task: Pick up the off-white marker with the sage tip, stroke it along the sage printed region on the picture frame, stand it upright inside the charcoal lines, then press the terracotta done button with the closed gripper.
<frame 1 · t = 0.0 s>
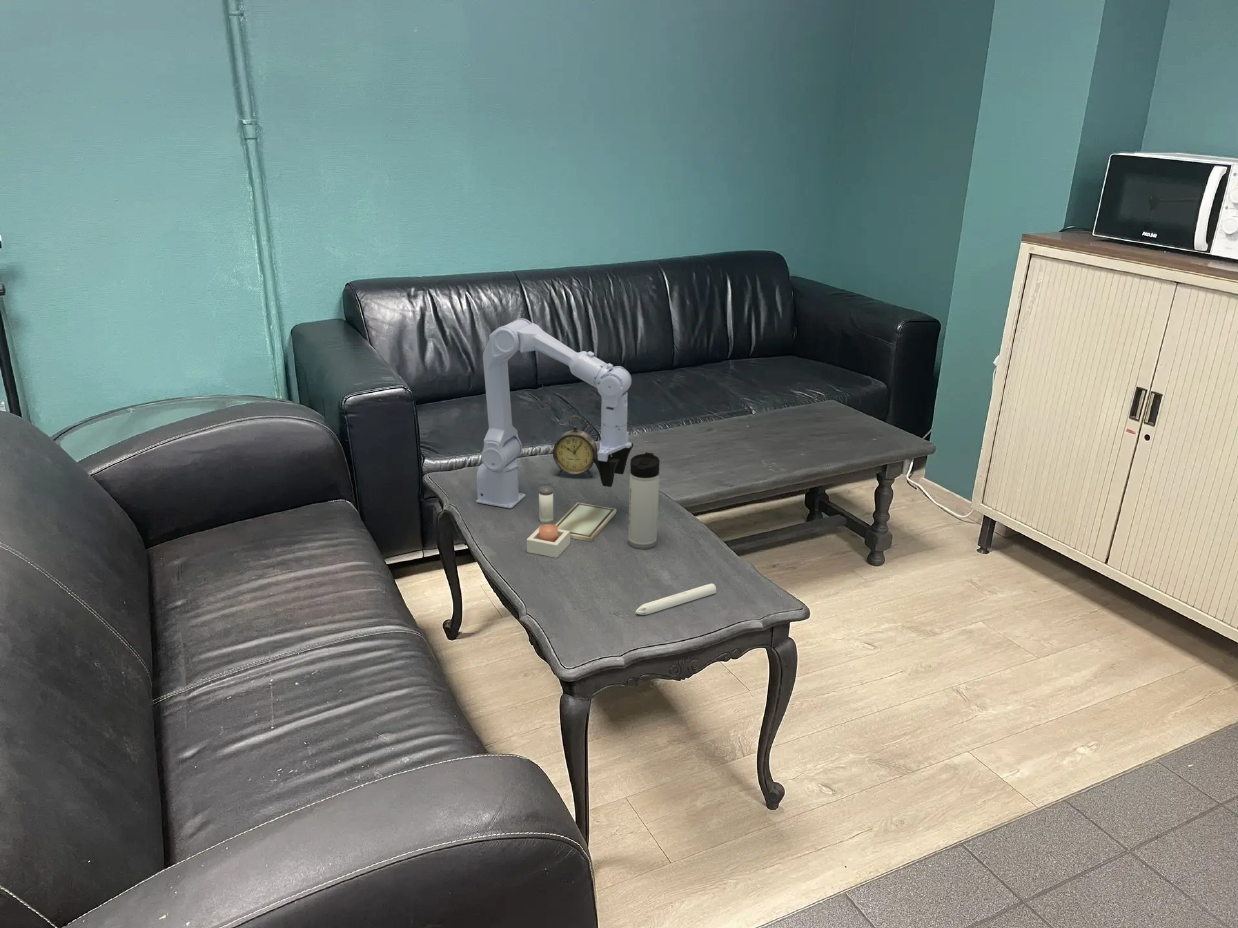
hand: (613, 479, 194), 10 cm above the table, tool pointing down, fingers open, 7 cm apart
done button: (548, 534, 183), point 3 cm above the table, slide at 0.0 cm
button housing: (548, 547, 184), on the table
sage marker: (546, 520, 197), on the table
picture frame: (584, 522, 196), on the table
travel mug: (642, 543, 187), on the table
alarm clock: (575, 475, 221), on the table
marker: (675, 605, 165), on the table
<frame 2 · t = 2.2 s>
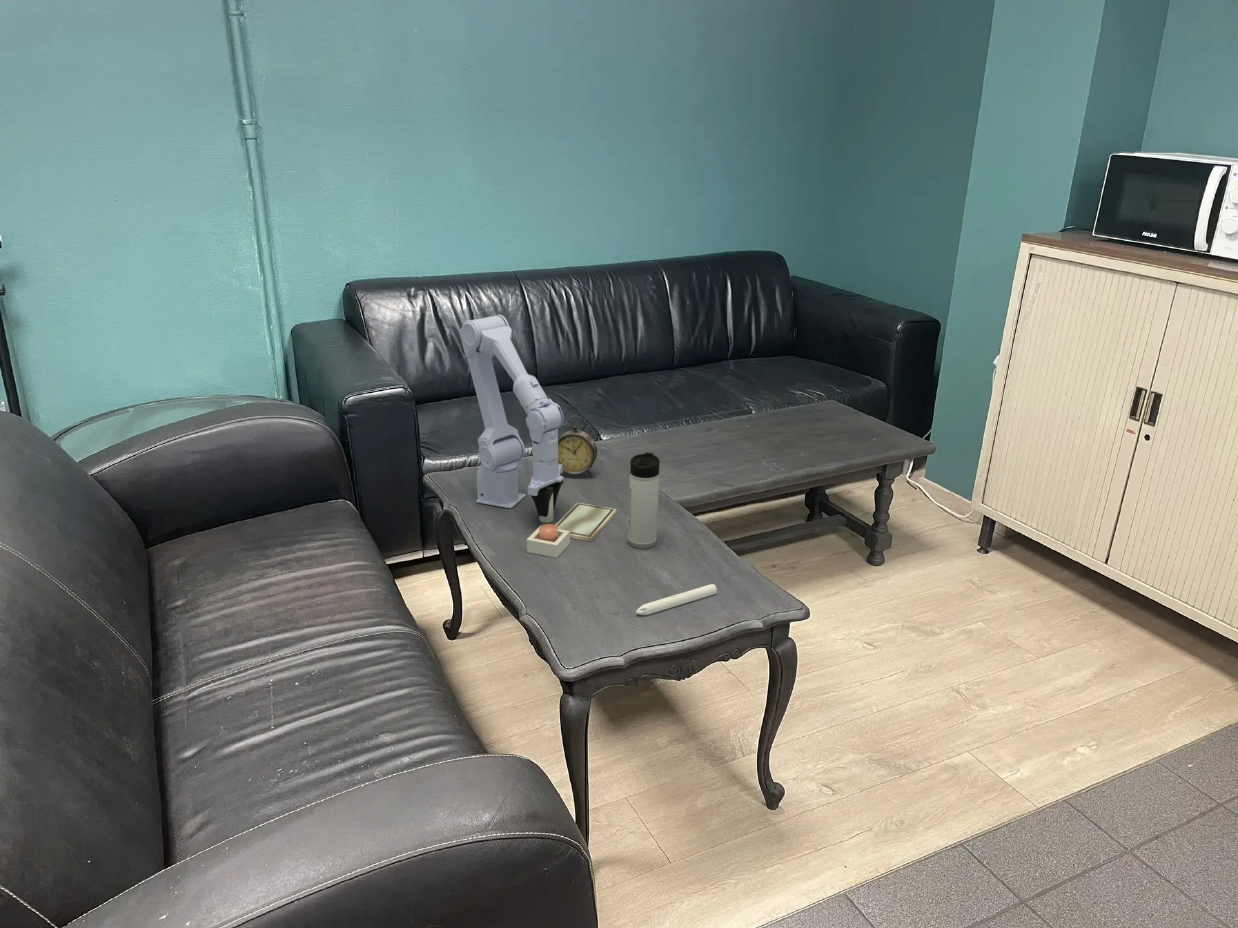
hand: (546, 512, 196), 2 cm above the table, tool pointing down, fingers closed on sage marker, 3 cm apart
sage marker: (546, 520, 197), on the table, touching gripper
everything else where it was.
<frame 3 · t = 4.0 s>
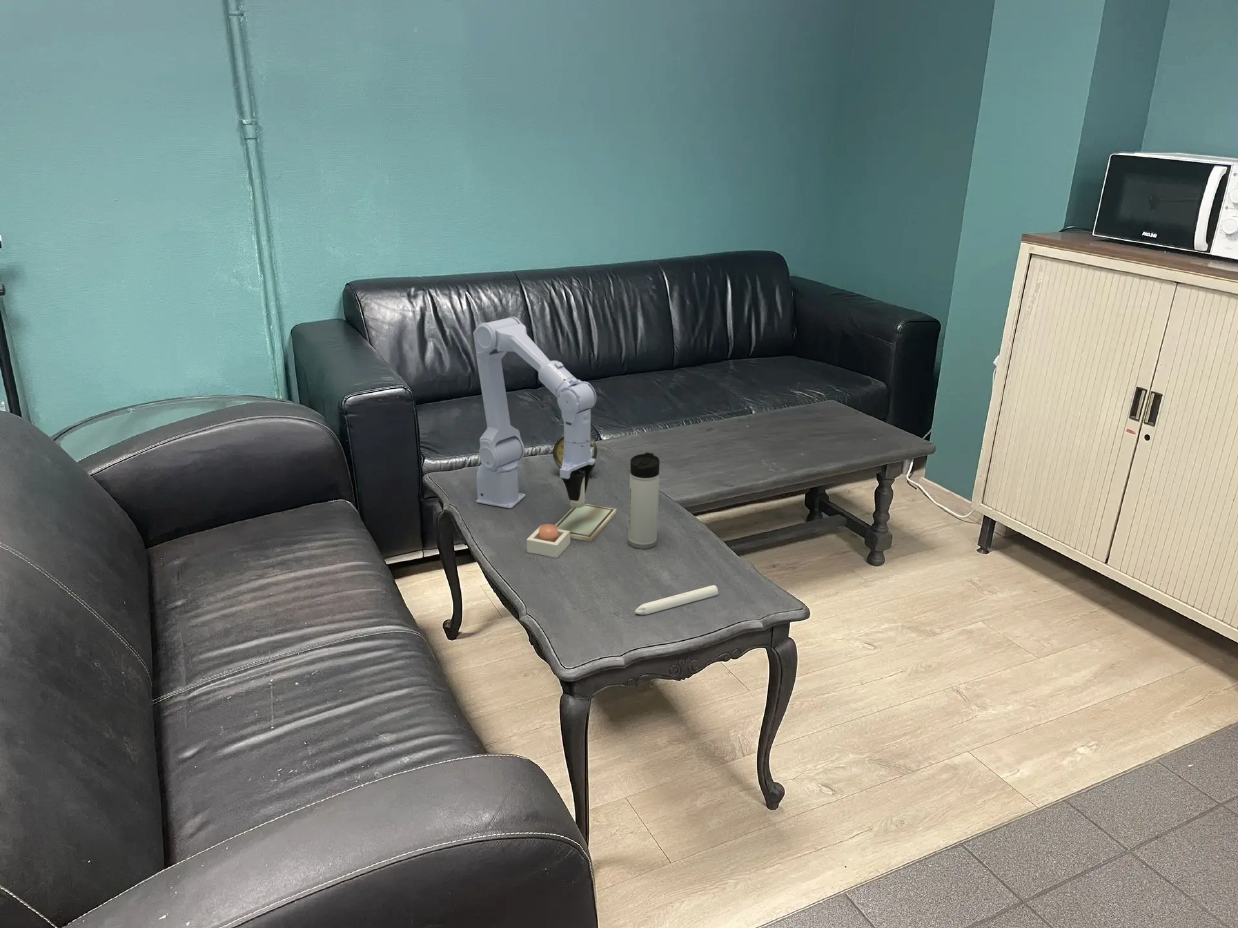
hand: (577, 496, 189), 8 cm above the table, tool pointing down, fingers closed on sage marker, 3 cm apart
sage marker: (577, 504, 190), point 6 cm above the table, touching gripper
everything else where it was.
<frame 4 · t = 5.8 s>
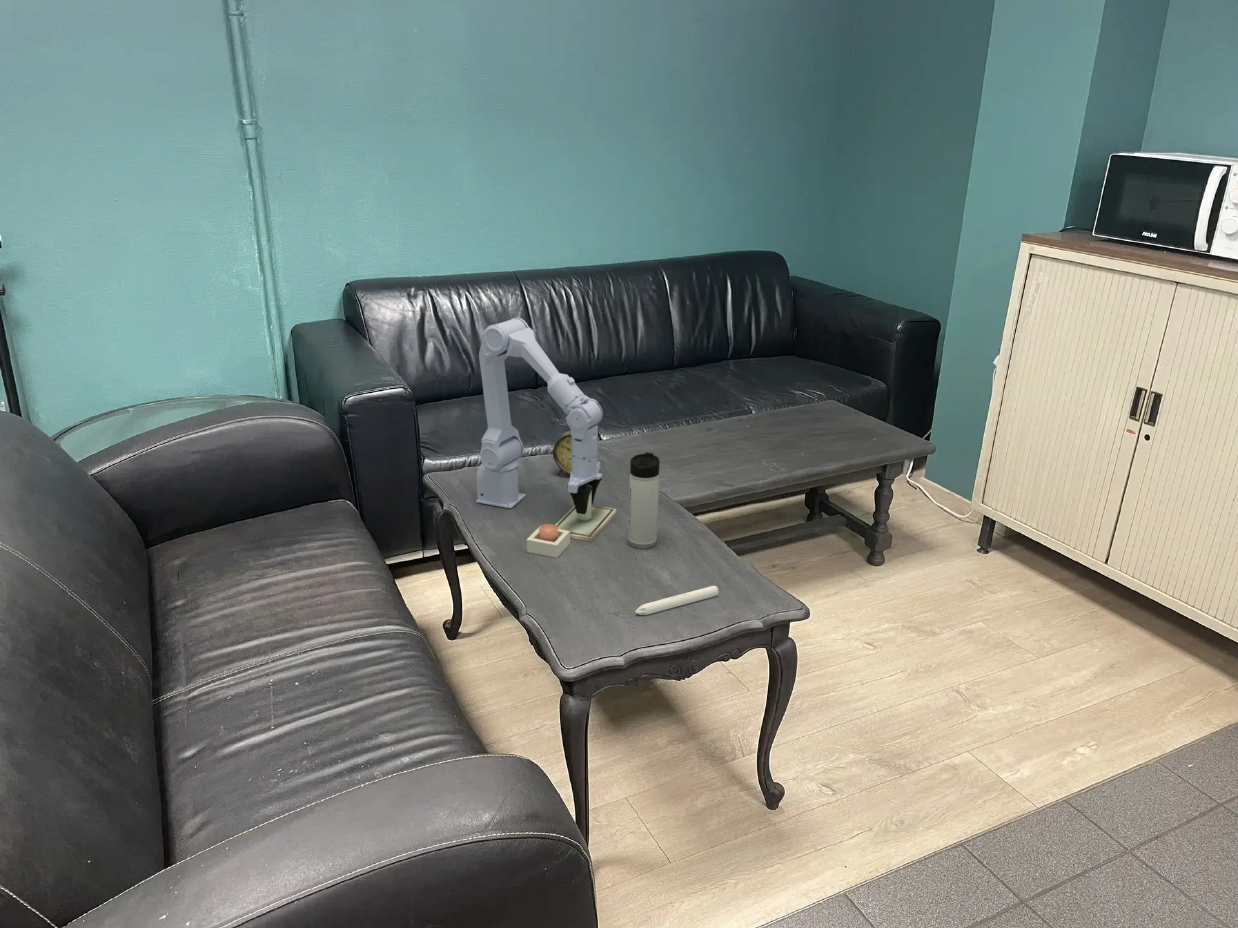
hand: (584, 509, 195), 3 cm above the table, tool pointing down, fingers closed on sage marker, 3 cm apart
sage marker: (584, 517, 195), point 1 cm above the table, touching gripper
everything else where it was.
when the fingers open (4 cm above the table, at t = 8.0 s): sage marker stays where it is, resting on picture frame.
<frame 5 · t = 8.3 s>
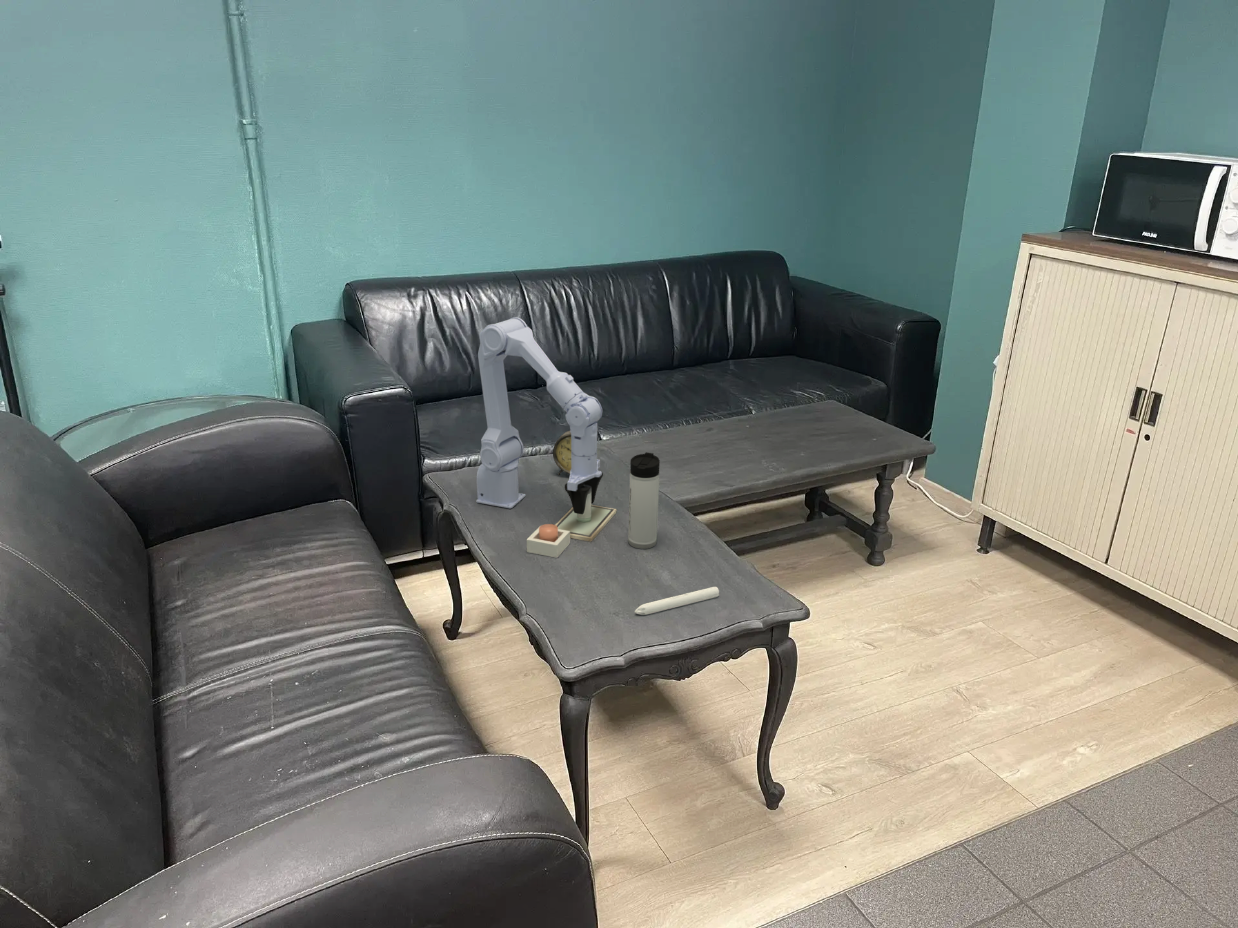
hand: (584, 507, 194), 4 cm above the table, tool pointing down, fingers open, 5 cm apart
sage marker: (584, 519, 195), point 1 cm above the table, touching picture frame
everything else where it was.
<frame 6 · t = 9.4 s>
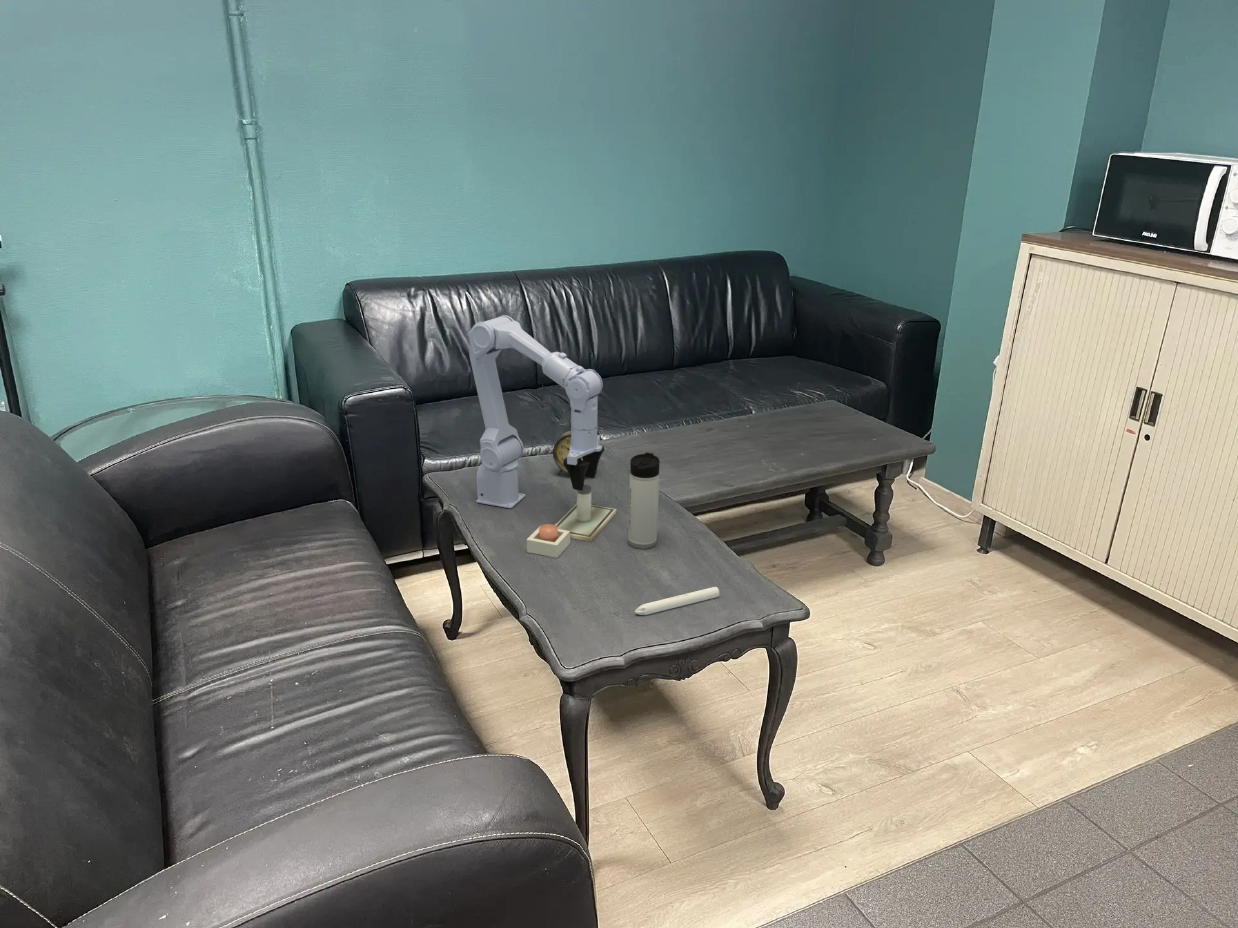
hand: (584, 483, 192), 10 cm above the table, tool pointing down, fingers open, 7 cm apart
nothing on the table moved.
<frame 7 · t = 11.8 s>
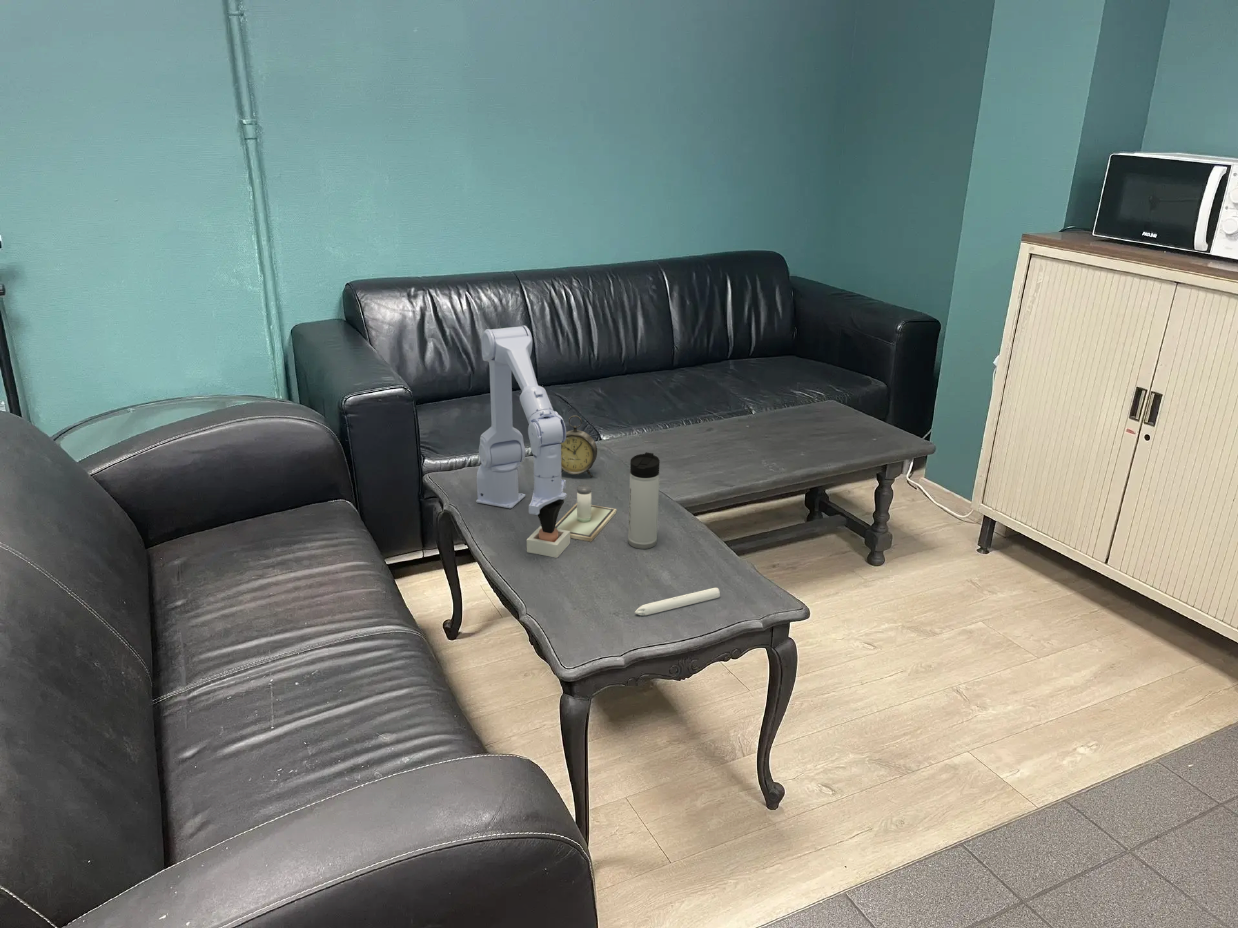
hand: (548, 531, 183), 4 cm above the table, tool pointing down, fingers closed, pressing on done button
done button: (548, 537, 183), point 2 cm above the table, slide at 0.7 cm, touching gripper
everything else where it was.
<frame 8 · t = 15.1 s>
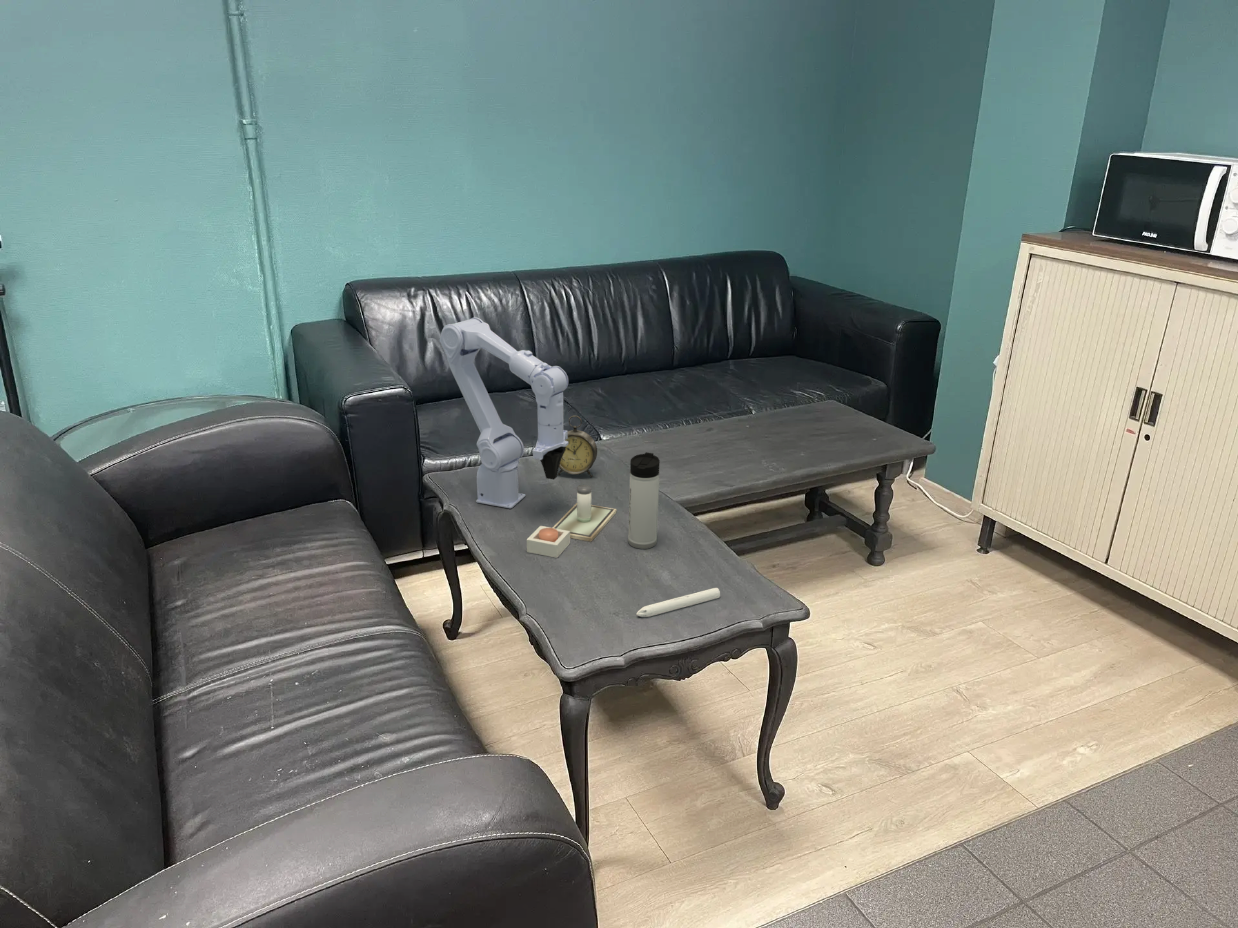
hand: (551, 477, 196), 9 cm above the table, tool pointing down, fingers closed
done button: (548, 538, 183), point 2 cm above the table, slide at 0.9 cm
at the end: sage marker inside the target area on the picture frame (0.0 cm from its centre), point 0.8 cm above the picture frame's base; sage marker tilted 0°; done button slide at 0.9 cm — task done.
